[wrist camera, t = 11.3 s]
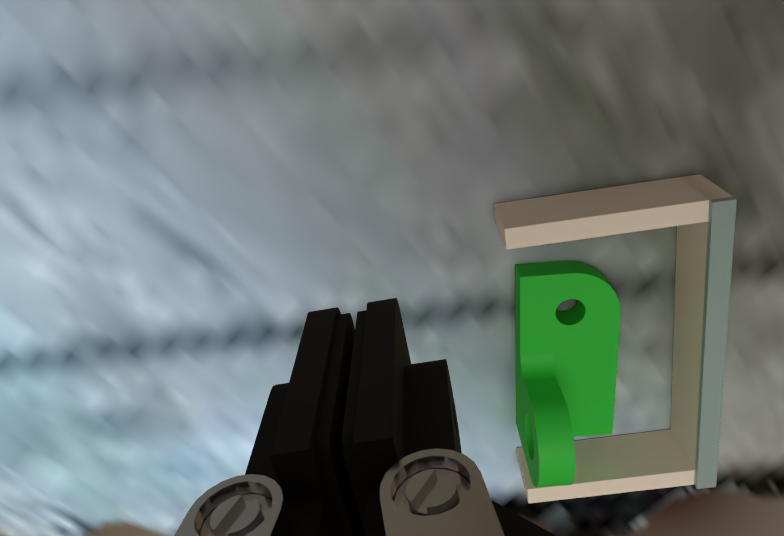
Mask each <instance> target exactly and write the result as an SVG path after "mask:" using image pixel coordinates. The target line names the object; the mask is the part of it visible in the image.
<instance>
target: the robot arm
mask: <svg viewBox="0 0 784 536" xmlns="http://www.w3.org/2000/svg"><path fill="white" fill-rule="evenodd" d="M174 536H556V535H554V534H552V533H550V532H548V531H547V530H545V529H543V528H541V527H539V526H537V525H536V524H534V523H532V522H530V521H528V520H527V519H525V518H523V517H521V516H519V515H517V514H516V513H514V512H512V511H510V510H508V509H506V508H505V507H503V506H501V505H499V504H497V503H496V502H494V501H492V500H491V498H490V496H489V493H488V490H487V488H486V485H485V482H484V480H483V477H482V474H481V472H480V470H479V469H478V467H477V466H476V464H475V462H474V461H472V460H471V459H470V458H468V457H467V456H466V455H464V454H462V453H461V445H460V437H459V430H458V423H457V416H456V410H455V404H454V398H453V392H452V387H451V381H450V376H449V371H448V365H447V361H446V359H444V360H437V361H430V362H424V363H417V364H411V361H410V356H409V351H408V347H407V342H406V337H405V332H404V327H403V323H402V318H401V313H400V308H399V304H398V301H397V298H393V299H387V300H381V301H375V302H369V303H368V304H367V310H366V311H360V312H358V313H357V320H356V328H354V324H353V320H352V317H351V314H350V313H347V314H341V313H340V310H339V309H338V307H337V308H331V309H325V310H319V311H313V312H309V313H308V315H307V319H306V322H305V326H304V330H303V334H302V337H301V341H300V345H299V348H298V352H297V356H296V360H295V363H294V367H293V371H292V375H291V378H290V382H289V383H285V384H278V385H275V386H273V387H272V390H271V392H270V395H269V398H268V401H267V405H266V408H265V411H264V414H263V418H262V421H261V424H260V428H259V431H258V434H257V437H256V441H255V444H254V447H253V450H252V454H251V457H250V460H249V463H248V467H247V470H246V473H245V475H241V476H236V477H233V478H230V479H228V480H225V481H222V482H220V483H219V484H217V485H215V486H214V487H212V488H210V489H208V490H207V491H206V492H205V493H204V494H203V495H202V496H200V497H199V498H198V499H197V500H196V501H195V503H194V504H193V505H192V507H191V508H190V509H189V511H188V512H187V514H186V516H185V518H184V519H183V521H182V523H181V525H180V527H179V528H178V530H177V532H176V534H175V535H174Z"/></svg>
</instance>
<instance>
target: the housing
mask: <svg viewBox="0 0 784 536" xmlns="http://www.w3.org/2000/svg"><path fill="white" fill-rule="evenodd" d="M736 202H737V199H736V198H734V197H733V196H731V195H730V194H728V193H727V192H725V191H724V190H722V189H721V188H720V187H718V186H717V185H715V184H714V183H712V182H711V181H709V180H708V179H706V178H705V177H703V176H702V175H700V174H697V175H690V176H683V177H677V178H670V179H663V180H656V181H649V182H642V183H635V184H628V185H621V186H614V187H607V188H600V189H593V190H587V191H580V192H573V193H566V194H559V195H552V196H545V197H538V198H531V199H524V200H517V201H510V202H503V203H497V204H494V211H495V221H496V225H497V228H498V230H499V233H500V235H501V238H502V240H503V243H504V245H505V247H506V250H508V249H515V248H522V247H529V246H537V245H544V244H551V243H558V242H565V241H572V240H579V239H587V238H594V237H601V236H608V235H615V234H622V233H630V232H637V231H644V230H651V229H658V228H665V227H672V226H677V241H676V272H675V303H674V334H673V366H672V397H671V428H670V429H668V430H660V431H652V432H644V433H635V434H627V435H619V436H610V437H602V438H594V439H585V440H577V441H574V447H575V477H574V482H573V484H572V485H565V486H549V487H535V486H534V485H533V483H532V480H531V477H530V473H529V469H528V466H527V462H526V458H525V455H524V451H523V447H519V448H517V458H518V464H519V468H520V472H521V476H522V480H523V484H524V488H525V492H526V496H527V499H528V503H536V502H545V501H554V500H562V499H571V498H580V497H588V496H597V495H606V494H614V493H623V492H632V491H641V490H649V489H658V488H667V487H675V486H684V485H693V484H694V485H695V487H696V488H697V489H700V488H709V487H716V480H717V466H718V452H719V438H720V424H721V410H722V396H723V383H724V369H725V355H726V341H727V327H728V313H729V299H730V285H731V271H732V258H733V244H734V230H735V216H736Z"/></svg>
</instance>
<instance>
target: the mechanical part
mask: <svg viewBox="0 0 784 536" xmlns="http://www.w3.org/2000/svg"><path fill="white" fill-rule="evenodd" d="M568 299H576V300H577V303H576V304H575V306H574V307H573V308H571V309H569V310H567V311H557V310H556V309H557V307H558V305H559V304H560V303H562V302H563V301H565V300H568ZM620 316H621V309H620V303H619V300H618V297H617V295H616V293H615V292H614V290H613V289H612V287H611V286H610V284H609V283H608V281H607V280H606V278H605V277H604V276H603V275H602V273H601V272H599V271H598V270H597V269H596V268H594V267H592V266H590V265H588V264H586V263H583V262H578V261H555V262H542V263H529V264H516V265H515V333H516V425H517V428H518V432H519V436H520V440H521V443H522V447H523V451H524V455H525V458H526V462H527V466H528V469H529V473H530V477H531V480H532V483H533V485H534V486H535V487H549V486H565V485H572V484H573V482H574V477H575V447H574V438H573V437H574V436H589V435H604V434H612V429H613V414H614V400H615V386H616V372H617V358H618V344H619V330H620Z"/></svg>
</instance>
